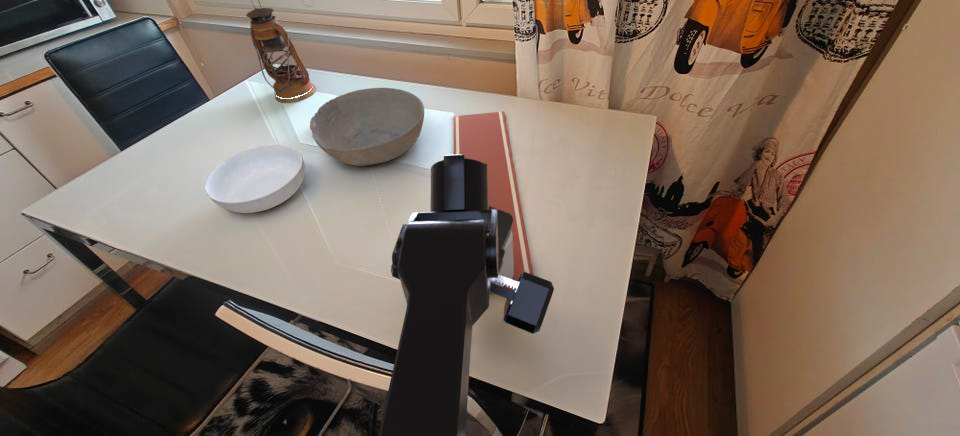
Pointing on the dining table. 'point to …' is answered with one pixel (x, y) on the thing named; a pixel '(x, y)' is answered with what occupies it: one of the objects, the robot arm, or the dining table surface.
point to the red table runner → (495, 173)
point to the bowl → (368, 125)
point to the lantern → (289, 76)
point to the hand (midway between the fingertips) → (477, 286)
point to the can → (507, 261)
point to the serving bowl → (256, 178)
